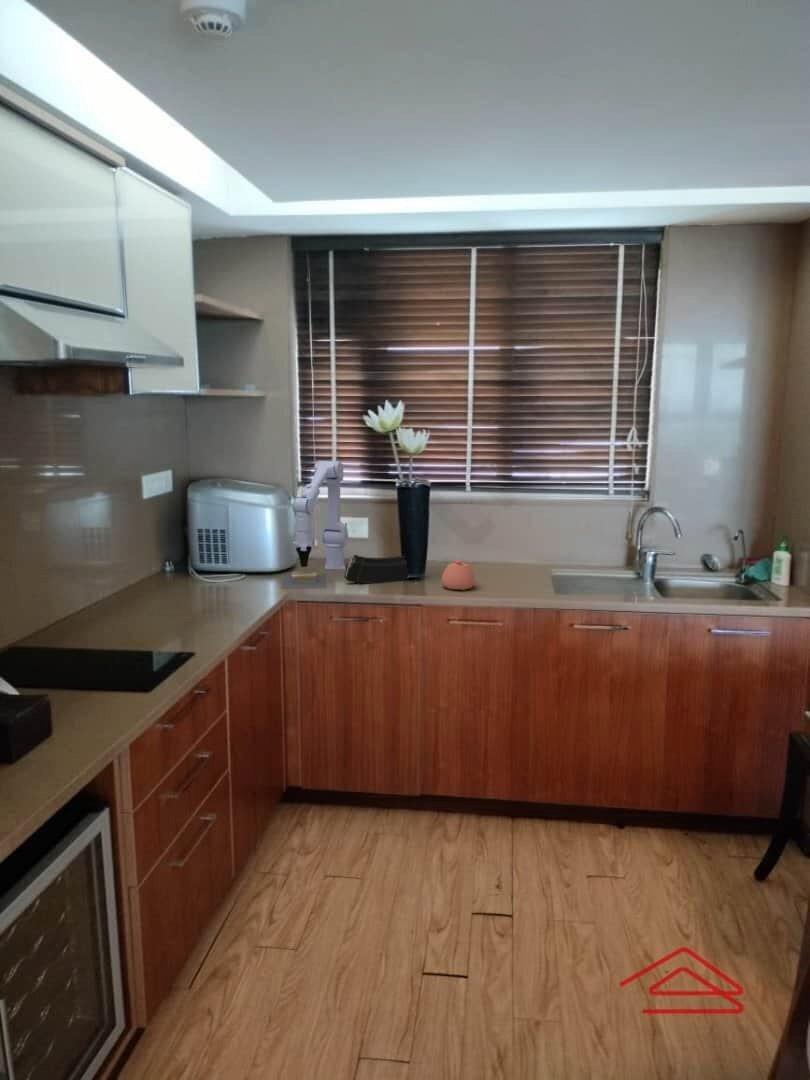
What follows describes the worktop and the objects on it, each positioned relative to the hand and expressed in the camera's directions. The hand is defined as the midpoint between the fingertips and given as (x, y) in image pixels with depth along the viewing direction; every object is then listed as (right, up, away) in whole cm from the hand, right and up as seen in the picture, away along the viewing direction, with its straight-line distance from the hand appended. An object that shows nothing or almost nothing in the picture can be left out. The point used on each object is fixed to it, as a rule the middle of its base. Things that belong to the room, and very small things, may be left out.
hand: (304, 566), depth 276 cm
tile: (-1, -3, +5) cm, 6 cm away
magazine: (+29, -6, +4) cm, 30 cm away
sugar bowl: (+57, -8, -4) cm, 58 cm away
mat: (0, -6, +1) cm, 6 cm away
